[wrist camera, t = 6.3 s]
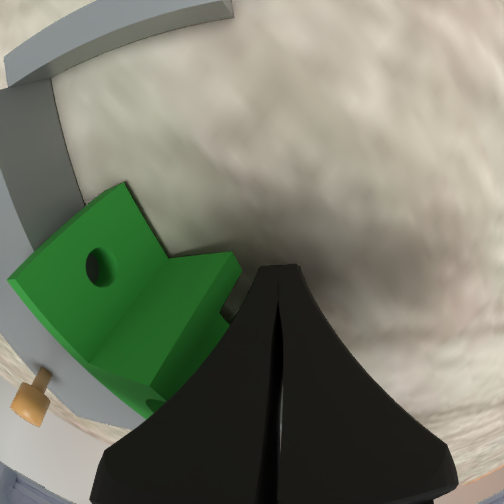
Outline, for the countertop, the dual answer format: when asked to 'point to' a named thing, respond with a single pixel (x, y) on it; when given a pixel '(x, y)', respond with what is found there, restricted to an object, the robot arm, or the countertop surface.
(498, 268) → the countertop surface
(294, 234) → the countertop surface
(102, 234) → the pipe clamp
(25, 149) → the pegged forked bracket
